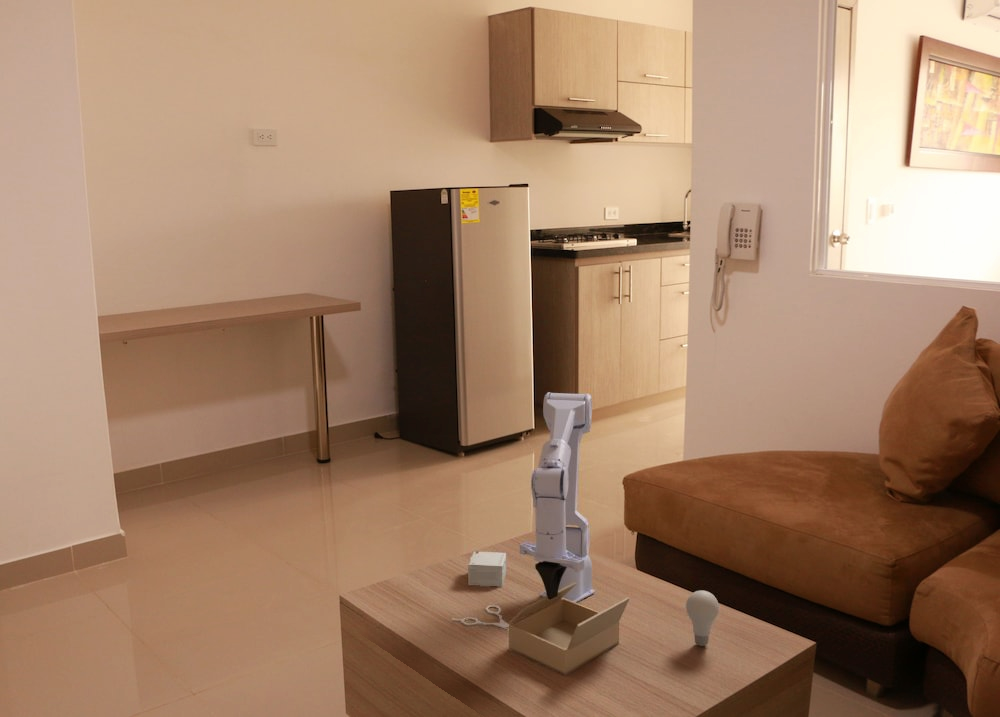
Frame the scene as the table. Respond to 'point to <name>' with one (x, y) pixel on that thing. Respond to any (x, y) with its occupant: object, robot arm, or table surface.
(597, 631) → the flap
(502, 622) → the scissors
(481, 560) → the small box
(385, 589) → the table surface
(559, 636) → the carton
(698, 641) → the lightbulb
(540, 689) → the table surface
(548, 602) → the flap
